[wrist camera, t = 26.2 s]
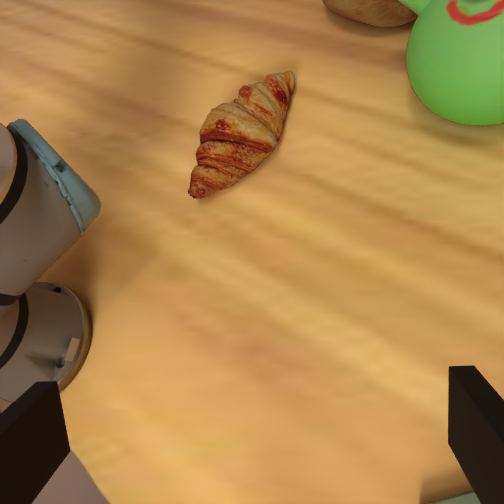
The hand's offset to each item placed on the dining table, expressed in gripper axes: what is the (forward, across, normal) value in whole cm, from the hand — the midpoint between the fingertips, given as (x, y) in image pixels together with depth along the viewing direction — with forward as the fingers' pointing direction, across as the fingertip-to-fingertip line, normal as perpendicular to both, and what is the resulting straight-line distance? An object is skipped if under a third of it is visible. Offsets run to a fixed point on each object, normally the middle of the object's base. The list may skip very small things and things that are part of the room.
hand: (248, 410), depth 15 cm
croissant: (+48, -3, +10) cm, 49 cm away
